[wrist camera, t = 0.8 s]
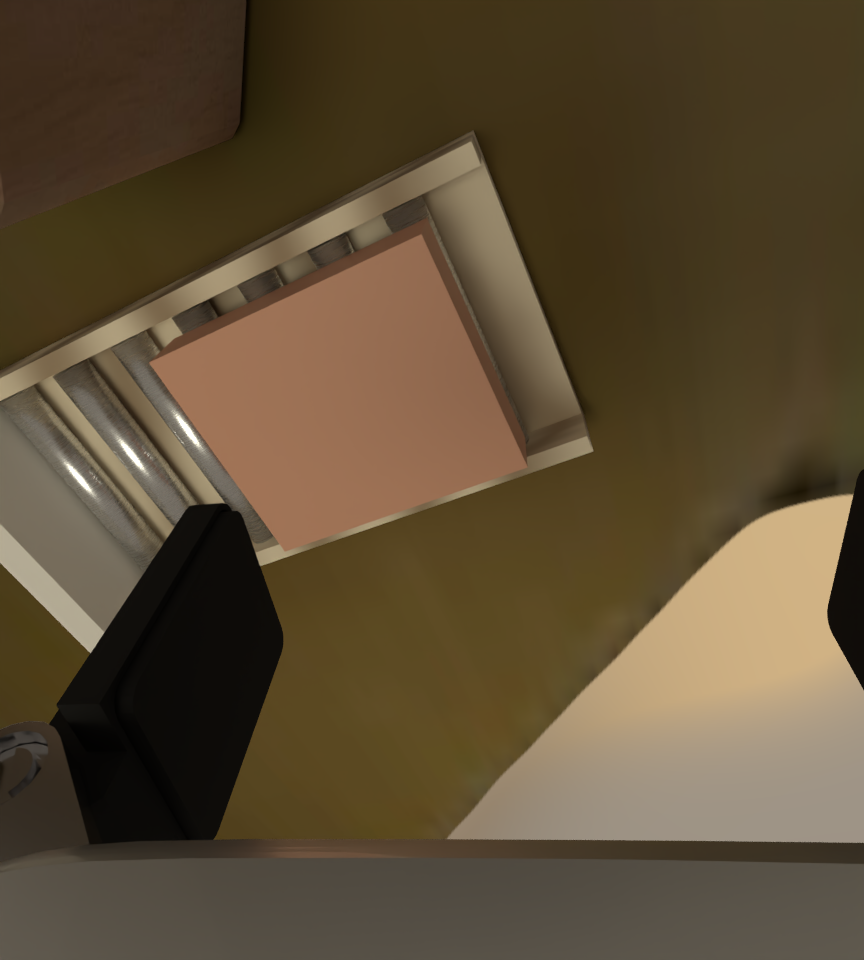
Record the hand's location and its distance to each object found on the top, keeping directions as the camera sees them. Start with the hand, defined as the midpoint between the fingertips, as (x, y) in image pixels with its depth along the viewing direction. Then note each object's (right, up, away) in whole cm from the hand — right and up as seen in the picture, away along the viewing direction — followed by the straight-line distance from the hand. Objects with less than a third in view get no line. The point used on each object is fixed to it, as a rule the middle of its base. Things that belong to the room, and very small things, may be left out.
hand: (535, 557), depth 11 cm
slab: (-6, +6, +24) cm, 25 cm away
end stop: (-24, +1, +32) cm, 40 cm away
